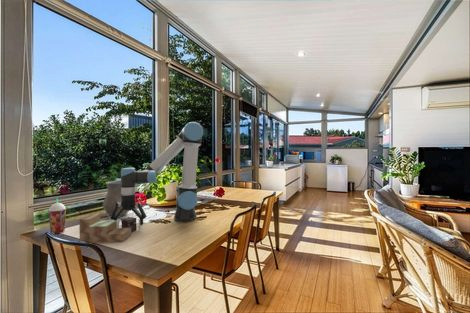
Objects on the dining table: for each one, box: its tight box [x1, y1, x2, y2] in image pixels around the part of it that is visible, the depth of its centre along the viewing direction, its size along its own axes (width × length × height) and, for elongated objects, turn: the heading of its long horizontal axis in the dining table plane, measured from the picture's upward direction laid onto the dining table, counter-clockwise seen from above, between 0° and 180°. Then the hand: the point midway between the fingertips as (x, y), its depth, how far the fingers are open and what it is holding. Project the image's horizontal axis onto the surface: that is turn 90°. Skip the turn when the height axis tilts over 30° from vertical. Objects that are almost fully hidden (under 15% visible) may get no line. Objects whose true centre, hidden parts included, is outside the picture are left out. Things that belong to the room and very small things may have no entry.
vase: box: [102, 180, 130, 218], centre depth 172 cm, size 20×19×25 cm
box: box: [121, 216, 138, 233], centre depth 138 cm, size 6×6×7 cm
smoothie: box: [48, 197, 67, 234], centre depth 137 cm, size 8×8×20 cm
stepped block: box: [78, 213, 132, 243], centre depth 126 cm, size 22×10×12 cm, turn 92°
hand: (129, 230), depth 138 cm, fingers open, 12 cm apart
